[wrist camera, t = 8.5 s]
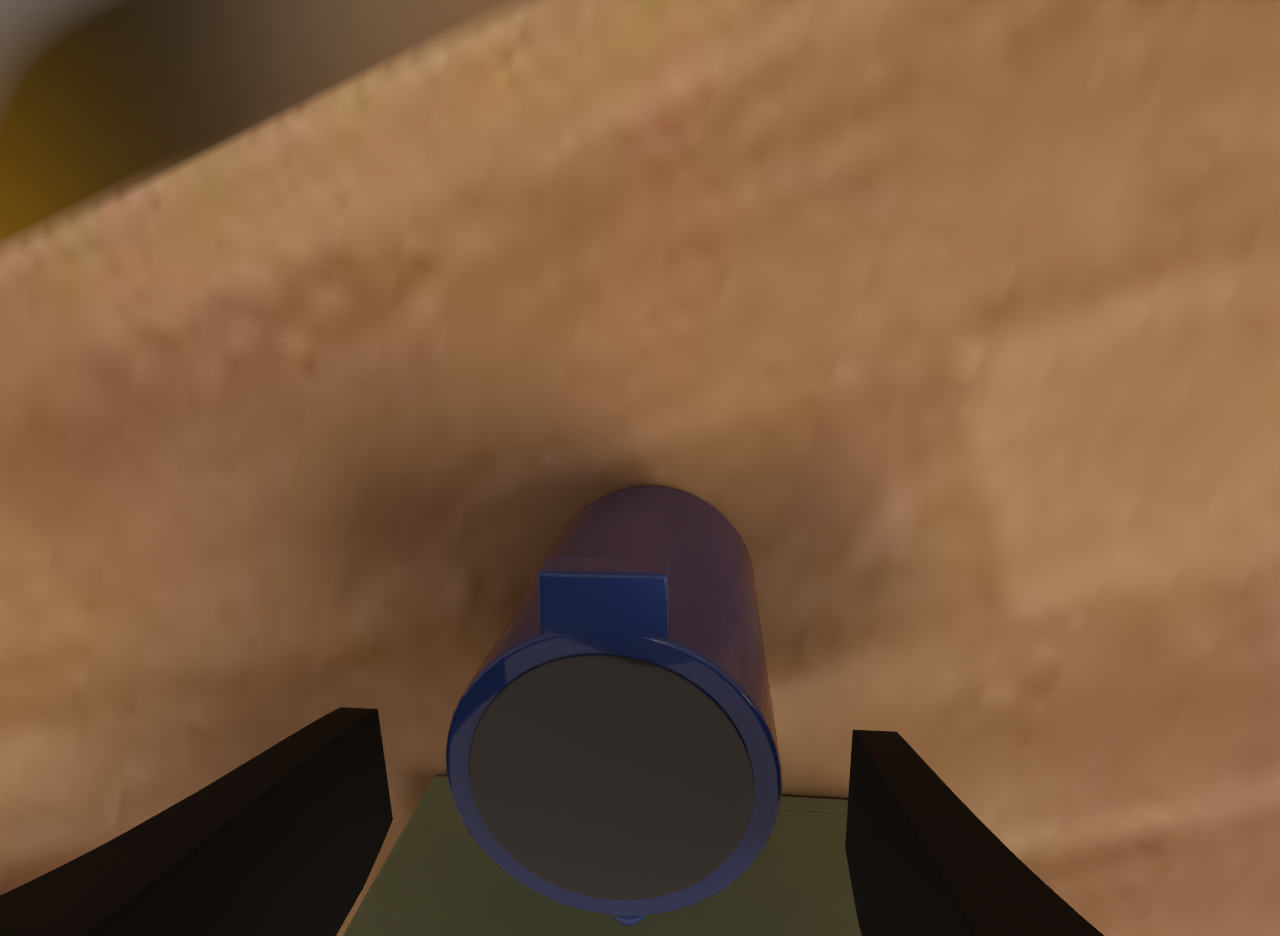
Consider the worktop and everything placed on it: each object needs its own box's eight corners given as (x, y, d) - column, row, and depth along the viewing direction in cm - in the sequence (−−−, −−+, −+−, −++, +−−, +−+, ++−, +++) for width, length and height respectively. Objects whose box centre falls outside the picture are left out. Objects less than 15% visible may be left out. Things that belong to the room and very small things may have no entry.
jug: (544, 451, 16) (420, 570, 9) (756, 452, 15) (791, 579, 9) (561, 727, 18) (468, 994, 11) (749, 736, 17) (774, 1023, 10)
